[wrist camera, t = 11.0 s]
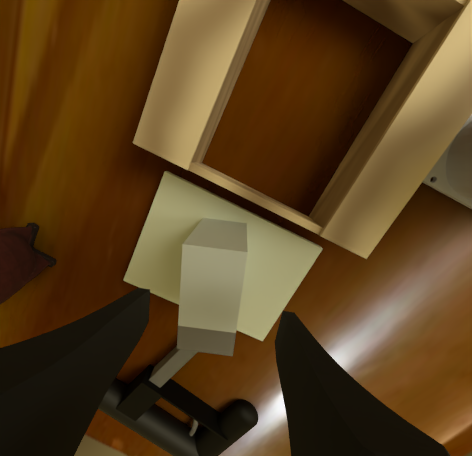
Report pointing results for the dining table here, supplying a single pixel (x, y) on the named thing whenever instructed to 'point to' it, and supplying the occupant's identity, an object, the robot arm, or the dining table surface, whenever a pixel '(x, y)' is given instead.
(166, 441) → the door handle
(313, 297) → the dining table surface
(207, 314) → the block
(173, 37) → the carton
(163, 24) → the dining table surface
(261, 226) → the sage board
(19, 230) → the mate gourd
